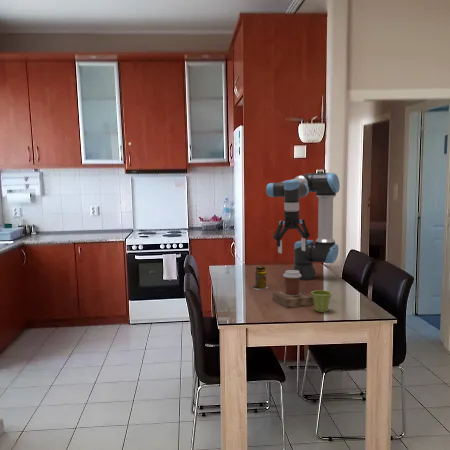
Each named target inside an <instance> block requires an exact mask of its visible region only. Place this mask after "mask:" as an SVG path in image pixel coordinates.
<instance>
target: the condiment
mask: <svg viewBox="0 0 450 450" xmlns="http://www.w3.org/2000/svg"><path fill="white" fill-rule="evenodd" d="M250 288H251V289H254V290H257V291H259V290H263V289H264V290H265V289H269V288H270V287H268V286H267V271H266V266H264V265H257V266H256V270H255V285H254V286H250Z"/></svg>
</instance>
